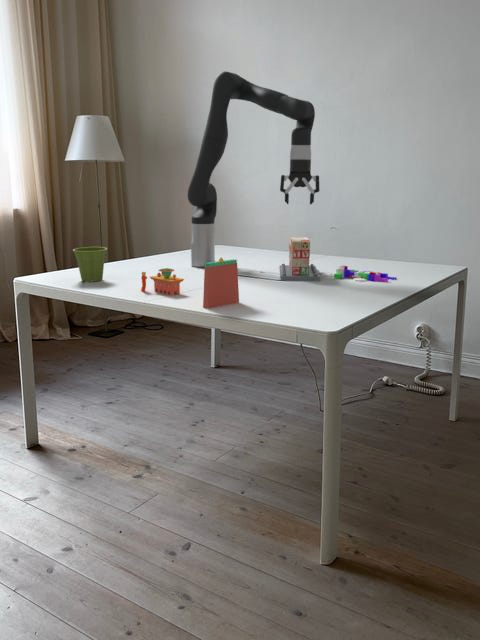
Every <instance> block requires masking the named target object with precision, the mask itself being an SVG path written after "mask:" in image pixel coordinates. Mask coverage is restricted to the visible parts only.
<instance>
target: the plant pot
mask: <svg viewBox="0 0 480 640" xmlns="http://www.w3.org/2000/svg"><path fill="white" fill-rule="evenodd" d="M107 250H108V248H107V247H104V246H86V247H85V246H84V247H76V248H74V249H72V251H73V253H74V256H75V258H76V261H77V266H78V270H79V275H80V278H81V281H82V282H87V283H90V282H101V281H103V276H104V266H105V257H106V252H107Z"/></svg>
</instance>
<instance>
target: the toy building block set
mask: <svg viewBox="0 0 480 640" xmlns="http://www.w3.org/2000/svg"><path fill="white" fill-rule="evenodd" d="M204 264H205V266H204V267H203V268H204V271H203V272H204V275H203V276H204V278H203V282H204V283H203V299H202V302H203V303H202V308H203V309H207V308H209V309H213V308H212V307H214V308H218V307H217V306H219V307H223V305H224V306H228V305H229V306H230V305H233V304H237V303H240V293H239V292H240V291H239V275H238V274H239V272H238V271H239V270H238V259H226V260H225V259H224V258H223V257H220V258H219V259H218V261H215V262H209V263H204ZM160 272H161V273H160ZM173 272H175V269H173V268H168V267H166V268H160V269H158V272H157V274H156V275H151V276H149V278H150V280H153V282H154V287H153V289H154V292H158V293H162V294H166V295H170V296H174V295H175V294H176V295H180V294H181V292H180V289H181V288H180V287H181V286H180V284H181V283H182V282H184V281H185V278H180V277H177V275H176V273H175V274H173V275H172V273H173ZM146 274H147V273H146V272H145V271H141V284H142V286H141V289H140V292H144V293H145V292H146V288H147V279H148V276H147V275H146Z"/></svg>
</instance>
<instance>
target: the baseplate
mask: <svg viewBox="0 0 480 640" xmlns="http://www.w3.org/2000/svg"><path fill="white" fill-rule="evenodd" d="M320 275H321V274H320V273H319V271H318V269H317V266H316V265H314V264H313V263H309V275H292V273H291V270H290V267H289V264H287V265H285V263H281V264H280V265H279V276H280V279H281V280H280V281H291V282H293V281H297V282H299V281H300V282H302V281H306V282H307V281H308V282H315V281H316V282H321V276H320Z"/></svg>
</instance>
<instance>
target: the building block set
mask: <svg viewBox="0 0 480 640" xmlns="http://www.w3.org/2000/svg"><path fill="white" fill-rule="evenodd" d="M348 268H349V267H348V266H347V265H341V266H339V267H338V268H336V269H335V273H333V272H325V273H322V274H321V277H328V278H333V279H334V280H340V279H353V281H354V282H359V283H361V282H367V281H369V282H378V283H388V282H389V279H391V280H390V281H394V279H395V280H397V277H396V276H395V277H394V276H389V273H385V272H379V271H377V272H376V271H375V272H374V271H370V270H367V271H365V270H364V271H359V270H356V269H348Z"/></svg>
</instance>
